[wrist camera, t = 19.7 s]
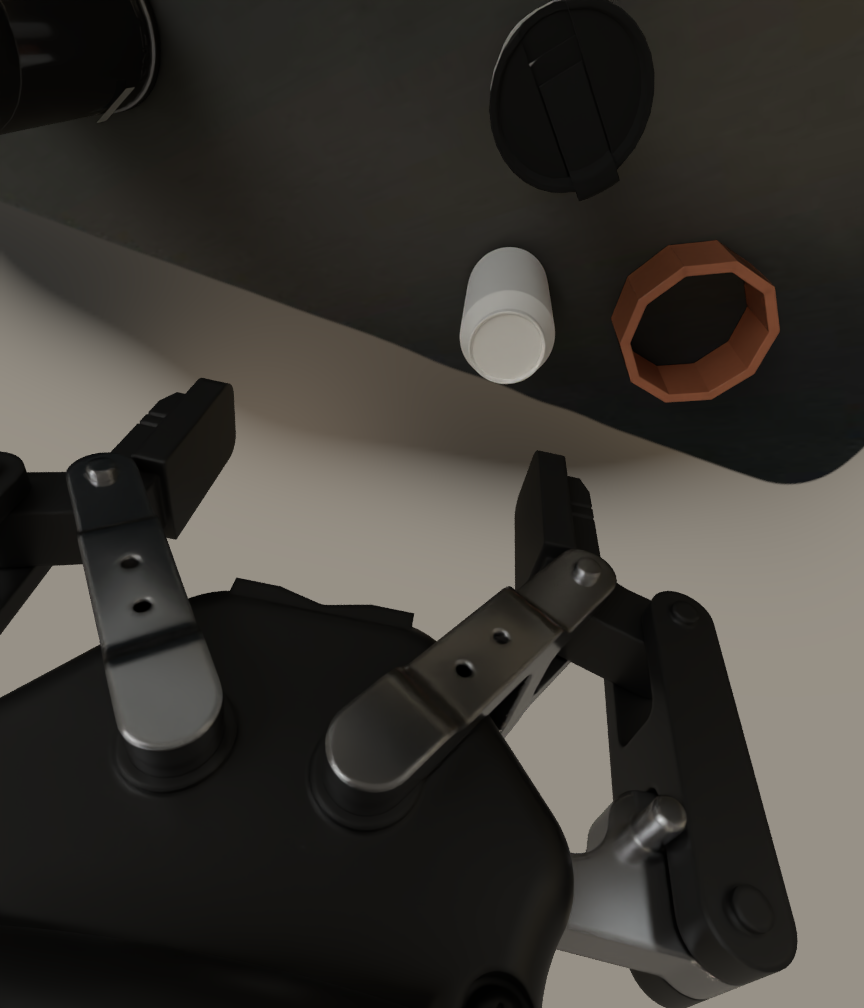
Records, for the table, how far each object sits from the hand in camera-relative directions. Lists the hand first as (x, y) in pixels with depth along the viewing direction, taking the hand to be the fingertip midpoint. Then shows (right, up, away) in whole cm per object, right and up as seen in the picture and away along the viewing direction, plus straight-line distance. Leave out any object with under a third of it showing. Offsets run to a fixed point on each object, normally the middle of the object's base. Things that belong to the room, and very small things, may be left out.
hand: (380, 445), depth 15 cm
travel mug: (+9, +26, +22) cm, 35 cm away
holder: (+21, +14, +30) cm, 39 cm away
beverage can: (+7, +16, +31) cm, 35 cm away
